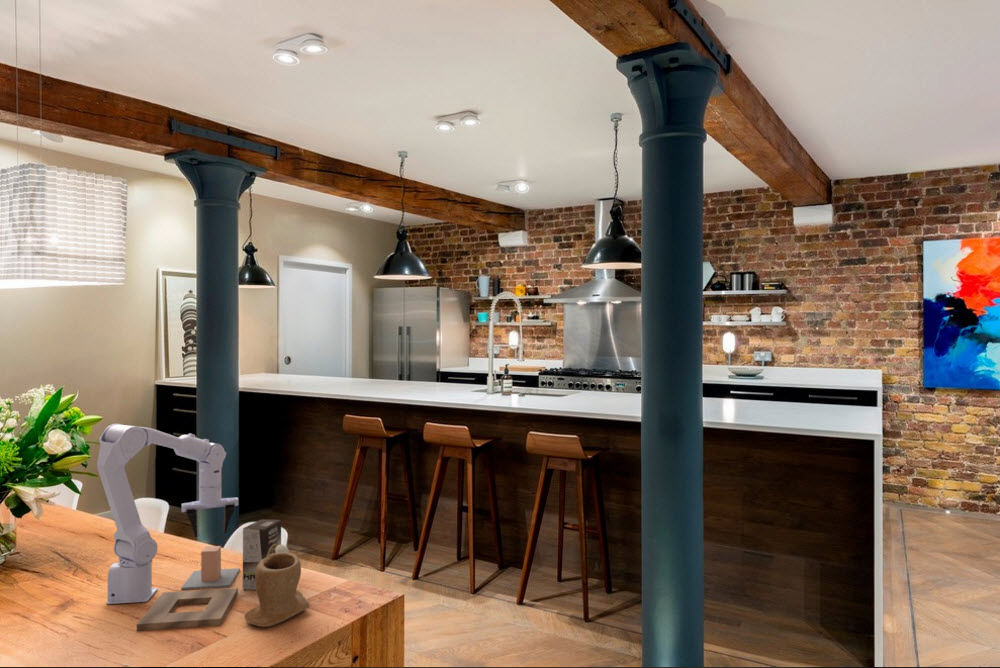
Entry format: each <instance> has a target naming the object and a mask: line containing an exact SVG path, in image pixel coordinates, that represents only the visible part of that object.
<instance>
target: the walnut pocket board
mask: <svg viewBox="0 0 1000 668" xmlns="http://www.w3.org/2000/svg"><path fill="white" fill-rule="evenodd" d="M238 594H239V588H237V587H234V588H233V587H229V588H213V589H196V590H181V591H167V592H166V591H165V592H162V593H161V594H160V595H159V596H158V598H157V599H156V600H155V601H154V603H153V604H152V605H151V606H150V607H149V608H148V610H147V611H146V612H145V613H144V615H143V616H142V617H141V618H140V620H139V621H138V622H137V623H136V631H137V632H138V631H141V632H142V631H155V630H168V629H171V630H172V629H182V628H185V629H186V628H196V627H197V628H198V626H200V627H211V626H222V624H223V622H224V620H225V618H226V617H227V615H228V613H229V611H230V609H231V607H232V606H233V604H234V602H235V600H236V598H237V596H238ZM201 603H208V604H206V606H205V608H204V610H195V611H181V612H174V611H175V610H176V609H177V607H178V606H189V605H190V604H192V605H202V604H201ZM190 606H191V605H190Z"/></svg>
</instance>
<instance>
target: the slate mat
mask: <svg viewBox="0 0 1000 668" xmlns="http://www.w3.org/2000/svg"><path fill="white" fill-rule="evenodd" d="M240 571H241V568H239V567H238V568H221V576H220V577H219V579H218V580H217V581H203V582H201V570H194V571H193V572H192V573H191V575H190V576H189V577H188V578H187V579H186V581H185V582H184V583H183V585H182V586H181V591H190V590H201V589H200V588H205V589H223V588H231V586H232V584H233V583H234V581H235V579H236V578H237V576H238V574H239V573H240Z"/></svg>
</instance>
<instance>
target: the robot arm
mask: <svg viewBox="0 0 1000 668" xmlns="http://www.w3.org/2000/svg"><path fill="white" fill-rule="evenodd" d="M98 442H99V444H100V445H99V451H98V458H97V462H96V467H97V468H96V469H97V472H98V474H99V477H100V480H101V481H100V482H101V484H102V486H103V487H102V488H103V490H104V494H105V497H106V499H107V500H106V501H107V502H108V505H109V509H110V511H111V512H110V513H111V515H112V518H113V521H114V523H115V527H116V530H115V532H114V533H113V535H112V536H113V539H114V544H113V552H114V554H115V555H116V556H117V558H118V562H115V563H112V564H111V565H110V567H109V569H108V573H107V601H106V605H112V604H114V605H115V604H129V603H130V604H131V603H132V604H133V603H147V602H148V601H149V600H150V599H151V598H152V596H153V595H154V594H155V593H156V592H157V591H158V587H153V585H152V583H153V582H152V581H153V574H152V573H153V572H152V571H153V569H152V566H153V565H152V563H153V560H154V558H155V556H156V555H157V552H158V543H157V542H156V540H155V539H154V538H152V535H151V533H150V531H149V530H148V529H147V528H146V527H145V526H144V524H143V523H142V521H141V517H140V513H139V511H138V507H137V505H136V502H135V498H134V495H133V492H132V489H131V485H130V483H129V478H128V475H127V473H126V469H125V466H126V465H127V463H129V461H130V460H131V459H132V458H133V457H135V456H136V455H137V454H138V453H139V452H140V451H141V450H142V449H144V447H149V446H150V445H152V444H154V445H157V446H162V447H166V448H169V449H173V451H174V453H175V455H176V456H180V457H183V458H186V459H190V460H193V461H196V462H198V468H199V469H198V472H199V473H198V477H199V478H198V479H199V481H198V489H199V490H198V491H199V492H198V499H199V500H195V501H190V502H184V503H183V502H182V503H181V513H186V516H187V517H188V520H189V522H190V524H191V527H192V531H193V532H192V533H193V537H194V538H197V537H198V529H197V526H198V525H197V523H198V522H197V521H198V520H197V518H198V517H197V510H205V509H214V508H223V532H224V534H227V533H228V529H229V525H230V524H229V523H230V521H231V518H232V516H233V514H234V512H235V509H236V507H237V506H239V498H238V497H222V468H223V463H224V460H225V459H226V456H227V452H226V451H225V449H224V447H223V445H222V444H220V443H215V442H210V439H207V438H203V439H201V438H198V437H196V435H195V434H193V433H188V434H182V435H180V436H175V435H172V434H170V433H166V432H163V431H160V430H158V429H155V428H150V427H144V426H137V425H136V426H135V425H128V424H127V425H126V424H125V425H124V424H121V423H112V424H110V425H108V426H106V428H105V429H104V431H103V432H102V434H101V435H100V436H99V438H98Z"/></svg>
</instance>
